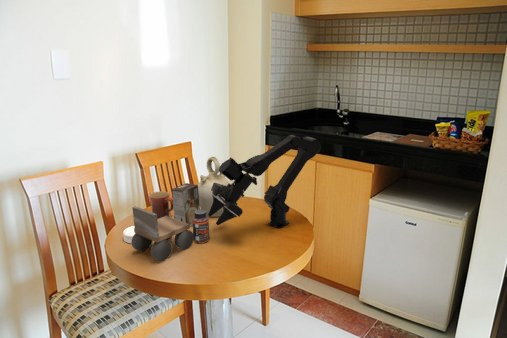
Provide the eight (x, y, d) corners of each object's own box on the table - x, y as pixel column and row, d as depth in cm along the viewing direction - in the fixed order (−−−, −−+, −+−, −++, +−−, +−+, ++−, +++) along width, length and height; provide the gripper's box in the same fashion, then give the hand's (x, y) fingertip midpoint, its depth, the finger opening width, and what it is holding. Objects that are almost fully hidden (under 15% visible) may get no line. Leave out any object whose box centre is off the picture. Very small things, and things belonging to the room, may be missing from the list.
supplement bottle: (199, 245, 141) (197, 216, 138) (190, 239, 146) (188, 211, 143) (212, 240, 145) (211, 211, 142) (203, 235, 149) (202, 207, 146)
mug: (146, 218, 166) (144, 196, 163) (161, 211, 173) (159, 190, 170) (167, 224, 160) (164, 200, 157) (181, 217, 167) (179, 194, 164)
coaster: (124, 234, 152) (123, 226, 151) (150, 231, 154) (150, 223, 153) (123, 245, 143) (121, 237, 142) (151, 242, 145) (150, 233, 144)
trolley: (170, 235, 150) (167, 194, 145) (194, 245, 141) (191, 201, 137) (132, 252, 137) (127, 208, 132) (156, 264, 129) (151, 217, 124)
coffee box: (189, 218, 165) (186, 182, 161) (201, 221, 162) (198, 184, 158) (174, 226, 158) (171, 188, 154) (186, 229, 155) (183, 191, 150)
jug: (225, 203, 182) (223, 151, 175) (238, 214, 168) (235, 158, 161) (193, 208, 176) (190, 155, 169) (203, 221, 162) (200, 163, 155)
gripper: (215, 168, 151) (190, 200, 150) (232, 182, 134) (204, 217, 133) (235, 184, 156) (211, 215, 155) (254, 199, 140) (227, 233, 139)
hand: (212, 220), depth 145 cm, fingers open, 9 cm apart
